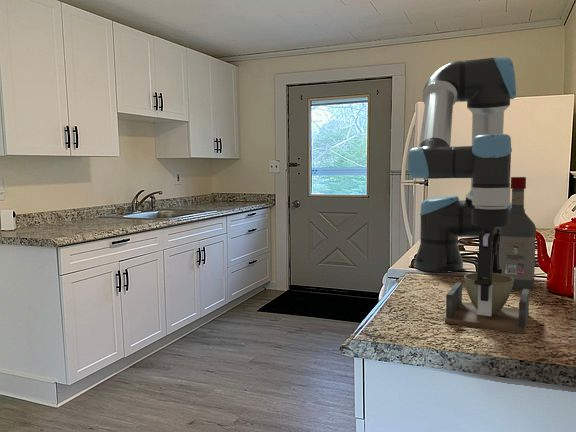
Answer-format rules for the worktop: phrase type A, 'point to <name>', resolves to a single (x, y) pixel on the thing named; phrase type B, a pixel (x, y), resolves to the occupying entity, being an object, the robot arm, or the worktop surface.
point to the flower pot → (499, 289)
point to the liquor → (518, 241)
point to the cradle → (469, 315)
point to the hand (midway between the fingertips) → (487, 308)
